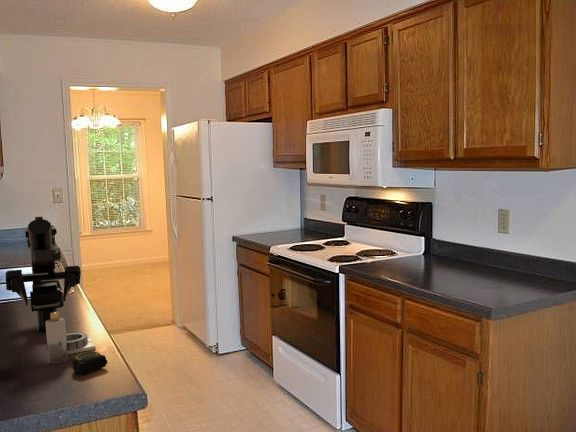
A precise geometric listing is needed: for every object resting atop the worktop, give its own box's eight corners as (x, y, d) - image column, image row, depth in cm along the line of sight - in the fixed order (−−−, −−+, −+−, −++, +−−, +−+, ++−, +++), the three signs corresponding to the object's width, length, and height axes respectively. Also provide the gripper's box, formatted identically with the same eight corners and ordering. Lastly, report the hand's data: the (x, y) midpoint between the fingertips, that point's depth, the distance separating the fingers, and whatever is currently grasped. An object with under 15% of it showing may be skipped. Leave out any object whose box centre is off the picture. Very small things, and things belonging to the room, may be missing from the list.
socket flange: (47, 345, 151) (46, 336, 150) (89, 338, 156) (88, 328, 155) (51, 357, 141) (50, 347, 141) (95, 349, 146) (94, 339, 146)
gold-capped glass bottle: (48, 360, 140) (44, 312, 138) (67, 356, 142) (63, 309, 140) (49, 365, 136) (45, 316, 134) (69, 361, 138) (65, 313, 136)
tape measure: (80, 378, 127) (79, 363, 127) (68, 371, 132) (67, 356, 131) (108, 369, 132) (107, 354, 131) (95, 363, 137) (94, 348, 136)
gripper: (4, 240, 146) (5, 287, 136) (78, 236, 154) (84, 280, 145) (5, 267, 153) (7, 313, 143) (76, 262, 161) (82, 305, 152)
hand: (46, 302), depth 146 cm, fingers open, 9 cm apart
